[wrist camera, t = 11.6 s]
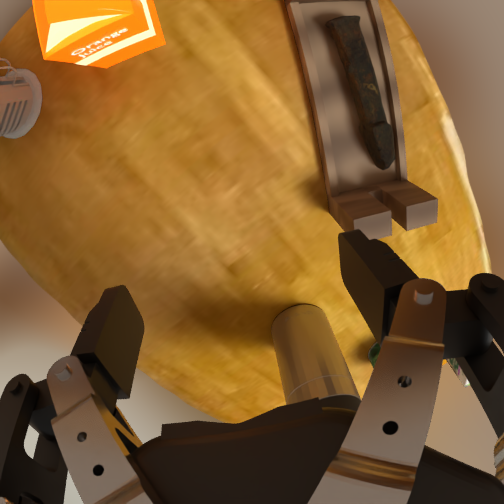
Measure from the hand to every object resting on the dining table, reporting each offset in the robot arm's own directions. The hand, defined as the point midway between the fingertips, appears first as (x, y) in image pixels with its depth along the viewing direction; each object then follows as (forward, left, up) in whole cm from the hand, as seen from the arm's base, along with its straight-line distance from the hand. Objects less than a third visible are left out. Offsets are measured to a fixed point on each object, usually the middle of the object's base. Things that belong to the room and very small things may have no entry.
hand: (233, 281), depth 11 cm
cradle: (+4, -17, -27) cm, 32 cm away
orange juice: (+19, +7, -27) cm, 34 cm away
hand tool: (+4, -18, -26) cm, 32 cm away
